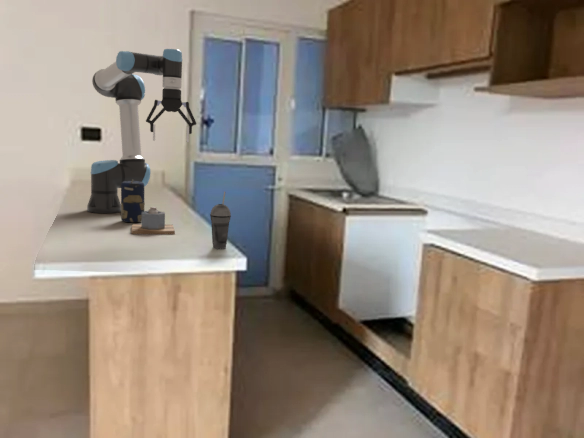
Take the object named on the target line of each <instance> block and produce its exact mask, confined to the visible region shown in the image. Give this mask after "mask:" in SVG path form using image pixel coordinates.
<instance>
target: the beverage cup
mask: <svg viewBox="0 0 584 438" xmlns="http://www.w3.org/2000/svg"><path fill="white" fill-rule="evenodd" d="M225 198H226V191H223V195H222V203H218V204H216V205H213V207H212V208H211V210H210V213H209V215H210V221H211V240H212V249H214V250H226V248H227V244H228V235H229V228H230V226H229V225H230V222H231V217H232V216H231V210H230V208H229V206H227V205H226V204H225Z"/></svg>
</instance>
